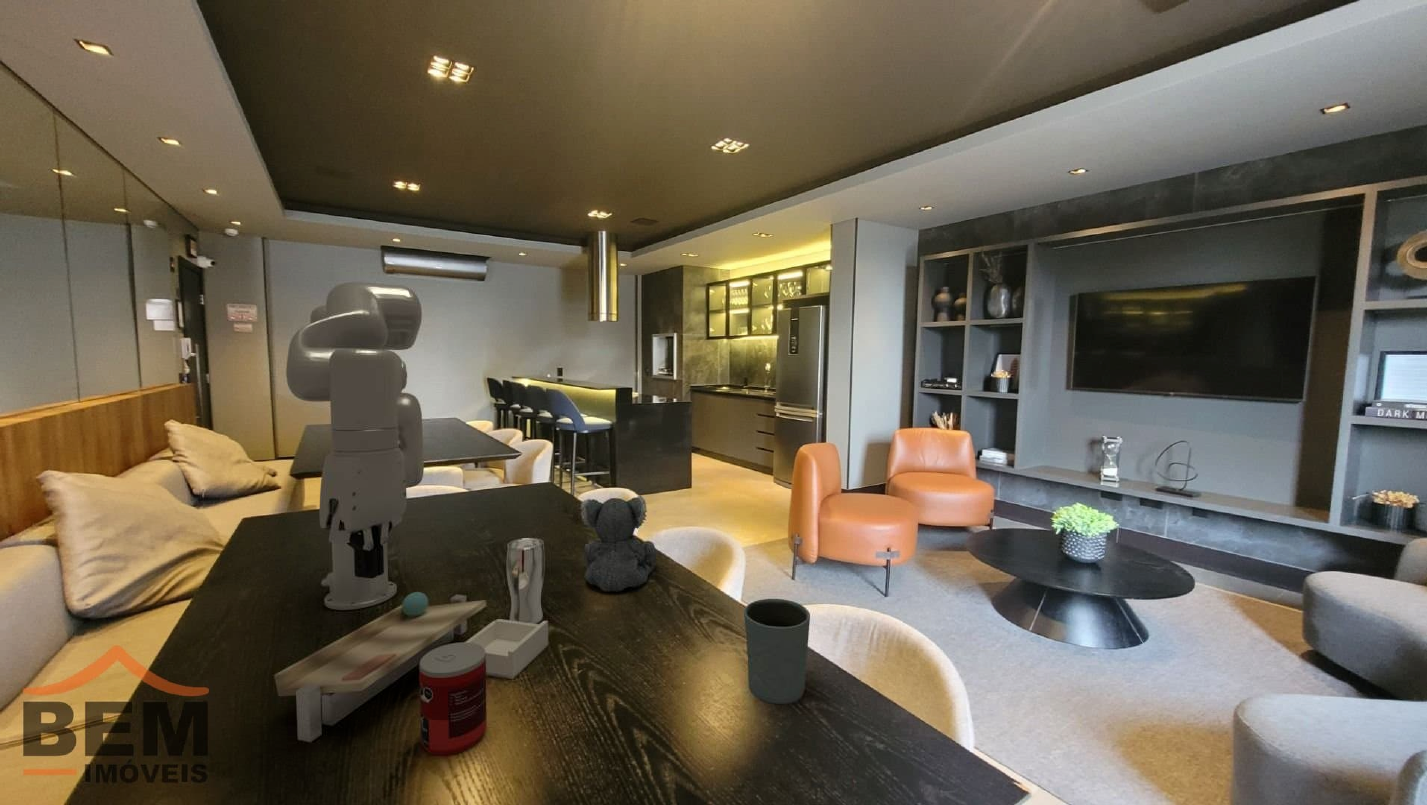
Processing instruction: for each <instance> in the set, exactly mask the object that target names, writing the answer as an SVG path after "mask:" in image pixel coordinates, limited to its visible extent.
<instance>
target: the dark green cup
mask: <svg viewBox="0 0 1427 805" xmlns="http://www.w3.org/2000/svg"><path fill="white" fill-rule="evenodd" d="M743 615H744V616H743V617H744V630H745V638H746V655H747V669H748V670H747V677H748V678H747V679H748V687H749V691H750V693H751V694H752V695H753V696H754V697H756V698H757V699H758V700H761V701H763V702H765V703H769V704H775V705H776V704H777V705H787V704H791V703H794V702H796V701H798V700H800V699H801V698H802V697H803V694H804V692H805V687H806V686H805V685H806V675H807V674H806V666H807V665H806V662H807V659H808V654H807V650H808V645H809V637H810V634H809V633H810V623H811V622H810V621H811V613H810V611H809V610H808V609H807V607H805V606H803V605H802V604H801V603H799V602H795V601H793V600H789V599H783V598H764V599H759V600H758V599H757V600H755V601H752V602H750V603H749V604H747V605H746V607H744V611H743Z"/></svg>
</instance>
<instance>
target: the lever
mask: <svg viewBox="0 0 1427 805" xmlns="http://www.w3.org/2000/svg"><path fill="white" fill-rule="evenodd" d="M485 607H487V601H486V599H484V600H475V601H474V600H473V601H466V602H463V603H454V604H451V603H447V604H436V605H428V607H427V609H426V610H425V611H424V612H423V613H422V614H421V615H419V616H415V617H411V616H408V615H406V614H405V613H404V611H403V609H402V604H401V605H399V606H397V607H396V608H394V609H392V610H390V611H388V612H386V613H384V614H382V615H381V616H379V617H377V618H375V619H374V620H372V621H370V622H368V623H367V624H364V625H363V626H360V627H359V628H357V629H356V630H354V631H352V632H350V633H348V634H346V635H345V636H343V637H341V638H339V639H337V640H335V641H333V642H331V643H330V644H328V645H326V646H324V647H322V648H321V649H319V650H317V651H315V652H313V653H311V654H310V655H308V656H306V657H304V658H303V659H301V660H299V661H297V662H296V663H293V664H292V665H289V666H287V667H286V668H284V669H282V670H281V671H278V672H277V673H275V674H274V675H273V676H274V680H275V682H274V683H275V686H276V691H277V695H278V697H288V696H289V697H290V696H296V691H297V690H299V689H300V688H302V687H304V686H305V685H307V684H311V685H316V686H320V697H321V698H322V696H323V695H325V694H326V693H336V692H351V691H362V690H364V689H365V688H367V687H368V686H370V685H371V684H372V683H374V682H375V681H377V680H378V679H380V678H381V677H383V676H384V675H386V674H387V673H389V672H390V671H392V670H393V669H394V668H396V667H397V666H399V665H400V664H402V663H403V662H405V661H406V660H408V659H409V658H411V657H412V656H414V655H415V654H416V653H418V652H419V651H421V650H422V649H424V648H425V647H427V646H428V645H430V644H431V643H433V642H434V641H436V640H437V639H438V638H440V637H441V636H443V635H444V634H446V633H447V632H449V631H450V630H452V629H453V628H455V627H456V626H458V625H459V624H460V623H462V622H463V621H465V620H466V619H467V620H468V619H469V618H471V617H472V616H474V615H475V614H477V613H479V612H480V611H481V610H482V609H484V608H485Z"/></svg>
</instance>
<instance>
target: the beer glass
mask: <svg viewBox="0 0 1427 805" xmlns="http://www.w3.org/2000/svg"><path fill="white" fill-rule="evenodd" d="M506 546H507V550H506V564H505V566H506V569H505V570H506V579H507V584H508V585H507V586H508V589H509V594H510V599H511V608H510V613H509V619H508V620H510V621H517V622H525V623H532V624H540V623H541V621H542V620H543V618H544V615H543V610H542V604H541V603H542V602H541V599H542V596H541V595H542V589H543V584H544V577H545V570H546V568H545V566H546V557H545V556H546V555H545V546H544V541H543V539H541V538H536V537H526V538H525V537H522V538H518V539H514V540H512V541H511V540H510V542H508V543H507V545H506Z"/></svg>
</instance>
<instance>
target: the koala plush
mask: <svg viewBox="0 0 1427 805" xmlns="http://www.w3.org/2000/svg"><path fill="white" fill-rule="evenodd" d="M579 509H580V510H581V513H580V516H581V520H582V521H583V524H584V525H586V526H587V527H588V528H591V529H592V528H594V530H595V534H596V535H597V537H598V538H599V540H595V541H594V540H591V541H588V543H585V545H584V550H583V551H584V557H585V563H586V564H585V565H586V571H585V573H584V579H585V580H586V582H587V583H589V585H594V586H597V587H598V588H600V590H602V592H609V593H610V592H612V593H613V592H622V591H623V590H624V589H627V588H636V587H639V586H641V585H642V584H645V583H646V582H647V580H648V576H649V575H650V574H651V573H652V571H653V570H654V569H655V566H656V563H657V558H658V554H657V551H656V550H657V549H656V547H655V543H654V542H653V541H650V540H645V541H644V542H643V543H641V540H638V538H637V537H636V536H633V535H634V533H635V530H636V529H637V530H638V529H640V527H641V526H642V525H643V524H645V522H644V521H646V520H647V519H646V518H647V517H648V516H647V515H646V514H647V512H648V510H647V503H646V500H645V498H644V497H642V495H637V496H635V497H632V498H631V499H629V500H625V499H622V498H619V497H612V498H609V499H607V500H606V501H604V502H601V501H598V500H597V499H593V498H592V499H591V498H588V499H585V500H583V501H582V502H581V504H580V508H579Z"/></svg>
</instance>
